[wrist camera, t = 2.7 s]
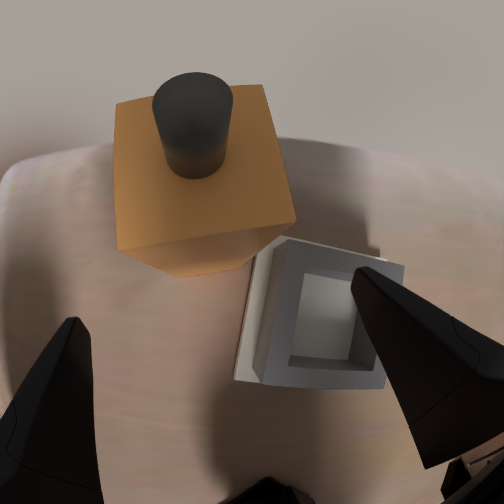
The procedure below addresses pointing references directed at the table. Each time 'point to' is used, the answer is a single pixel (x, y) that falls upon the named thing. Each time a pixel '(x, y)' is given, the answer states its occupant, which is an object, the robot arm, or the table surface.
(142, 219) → the plug
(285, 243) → the socket
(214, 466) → the table surface
